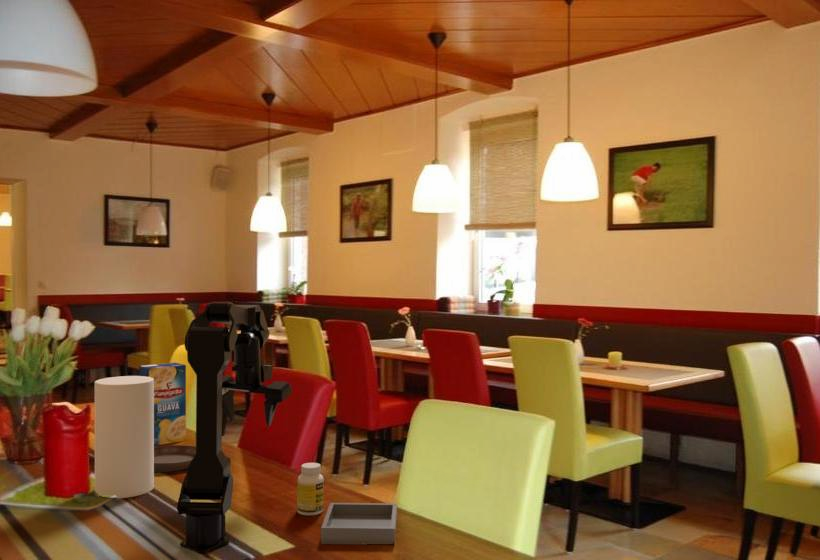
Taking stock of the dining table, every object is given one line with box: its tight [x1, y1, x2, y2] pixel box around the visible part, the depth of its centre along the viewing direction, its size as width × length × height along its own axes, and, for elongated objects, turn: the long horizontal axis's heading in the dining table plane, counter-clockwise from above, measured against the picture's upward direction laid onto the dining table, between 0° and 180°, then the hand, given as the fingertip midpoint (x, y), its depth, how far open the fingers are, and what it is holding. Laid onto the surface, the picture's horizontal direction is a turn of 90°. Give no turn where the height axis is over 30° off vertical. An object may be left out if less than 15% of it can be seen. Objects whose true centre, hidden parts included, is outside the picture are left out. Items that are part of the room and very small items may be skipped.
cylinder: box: [94, 375, 155, 499], centre depth 160 cm, size 12×12×25 cm
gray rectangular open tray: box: [320, 502, 398, 545], centre depth 137 cm, size 14×14×3 cm
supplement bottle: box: [296, 462, 325, 516], centre depth 147 cm, size 5×5×10 cm
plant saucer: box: [154, 444, 196, 473], centre depth 181 cm, size 18×18×3 cm
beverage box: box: [138, 362, 187, 447], centre depth 203 cm, size 7×11×22 cm, turn 133°
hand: (250, 423), depth 162 cm, fingers open, 9 cm apart
